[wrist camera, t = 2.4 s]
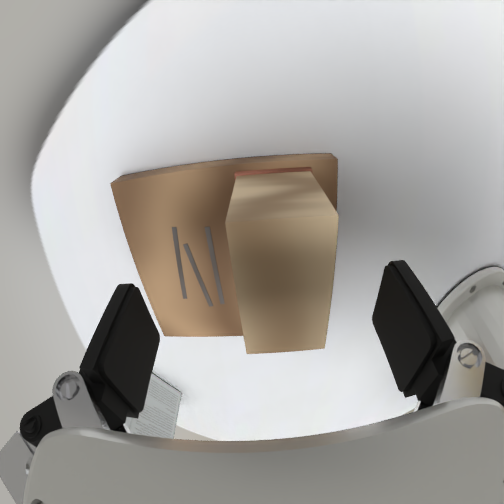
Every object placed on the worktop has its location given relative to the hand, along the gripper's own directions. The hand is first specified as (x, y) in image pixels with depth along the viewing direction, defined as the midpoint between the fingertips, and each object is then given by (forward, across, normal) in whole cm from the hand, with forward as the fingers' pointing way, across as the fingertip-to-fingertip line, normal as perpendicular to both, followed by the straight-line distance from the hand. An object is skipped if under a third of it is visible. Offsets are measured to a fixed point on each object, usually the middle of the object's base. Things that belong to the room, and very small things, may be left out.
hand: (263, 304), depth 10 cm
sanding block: (+7, -1, +1) cm, 7 cm away
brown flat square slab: (+8, +2, +3) cm, 9 cm away
